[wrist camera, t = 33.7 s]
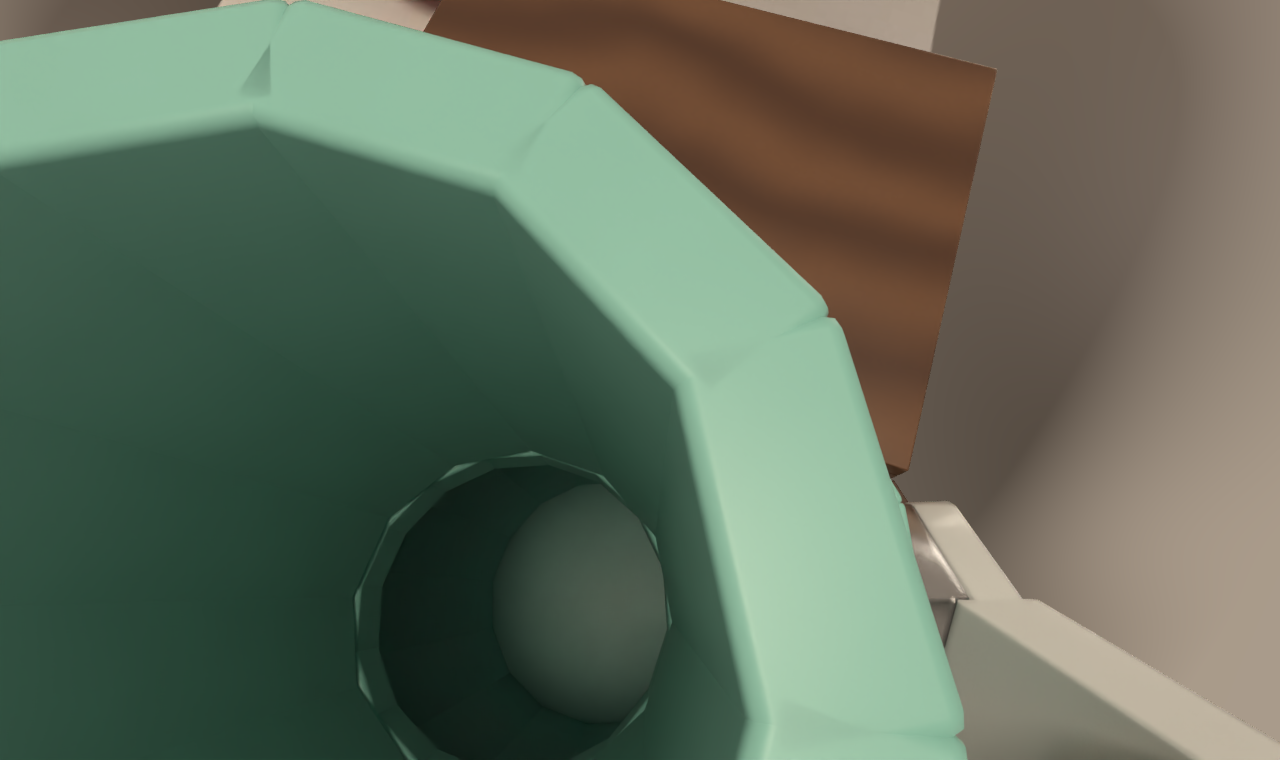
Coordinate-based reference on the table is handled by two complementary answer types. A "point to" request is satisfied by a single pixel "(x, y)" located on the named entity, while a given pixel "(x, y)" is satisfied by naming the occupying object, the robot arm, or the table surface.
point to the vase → (419, 423)
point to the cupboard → (792, 152)
